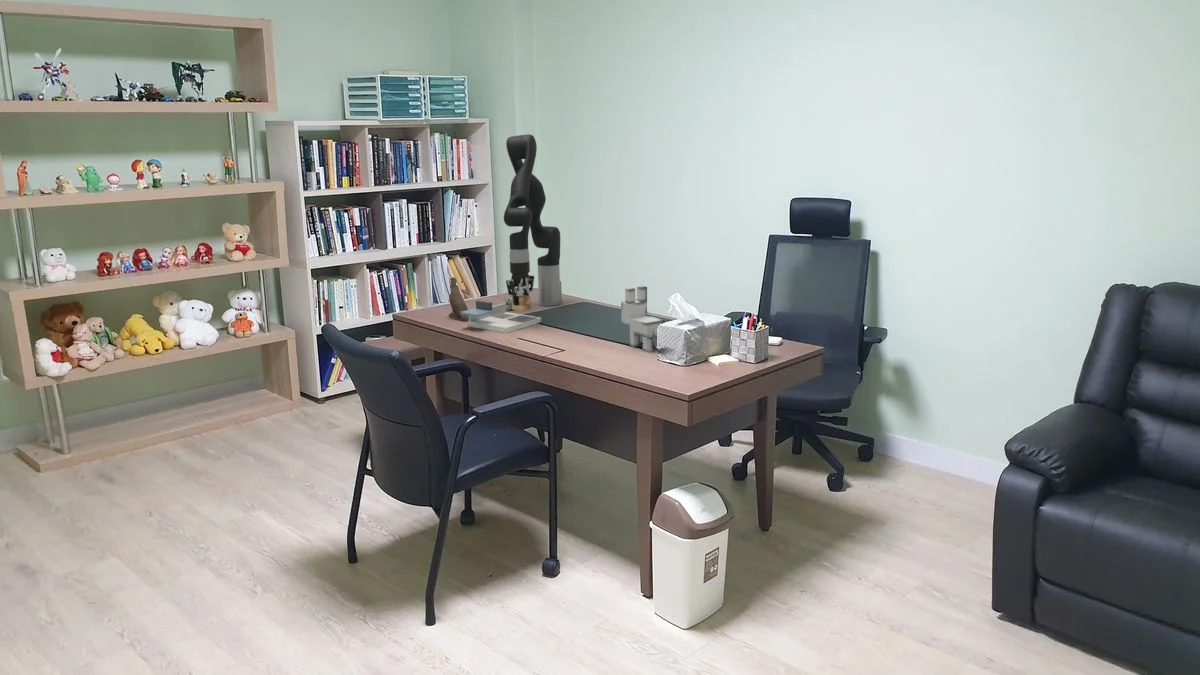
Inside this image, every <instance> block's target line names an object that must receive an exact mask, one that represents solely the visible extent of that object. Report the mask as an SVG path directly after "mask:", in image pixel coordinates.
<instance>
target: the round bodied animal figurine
mask: <svg viewBox="0 0 1200 675" xmlns="http://www.w3.org/2000/svg"><path fill="white" fill-rule="evenodd" d="M515 293H516V290H515ZM519 295H523V290H522V288H521V290H520V291H519ZM512 297H513V296H512V295H509V297H508V298H507V297H504V300H505V301H504V303H506V312H509V311H511V309H512ZM531 303H532V301H531V300H530V305H531Z"/></svg>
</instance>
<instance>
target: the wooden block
mask: <svg viewBox="0 0 1200 675" xmlns="http://www.w3.org/2000/svg"><path fill="white" fill-rule="evenodd" d="M518 296H519V305H518V306H515V305H514V304H513V297H512V308H511V309H512V310H513V311H518V312H525V311H527V310H531V304H530V301H531V295H529V296H526V295H518Z"/></svg>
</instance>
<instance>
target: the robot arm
mask: <svg viewBox="0 0 1200 675" xmlns="http://www.w3.org/2000/svg"><path fill="white" fill-rule="evenodd" d="M505 142H506V143H505V144H506V150H507V151H506V152H507V154H508V157H509V160H510V162H511V165H512V168H513V170H514V173H515V176H514V177H513V179H512V180H511V184H510V194H509V195H510V196H509V201H508V203H507V206H506V208H505V211H504V212H503V213H504V214H503V221H504V224H505V225H506V226H507V227H510V228H511V227H513V228H514V227H522V229H521V230H520V231H518V232H517V231H516V232H513V233H510V235H509V272H510V273H511V277H510V279H506V280H505V284H506V288H507V293H508V295H509V296H510V295H512V296H513V304H514V305H515V306H518V305H519V296H518V295H519V291H520V290H521V288H522V290H523V295H526V296H530V292H533V290H534V282H535V275H530V272H531V268H530V267H531V265H530V264H531V263H530V251H529V235H531V238H532V242H533V244H534V246H535V247H536V248H539V249H548V251H547V254H545V255H543V256H539V257H538V258H537V283H538V284H537V285H538V286H537V288H538V305H539V306H542V307H555V306H559V305H561V304H562V303H563V298H562V297H563V296H562V281H561V276H560V275H561V272H560V269H561V268H560V259H561V232H560V229H559V227H556V226H546V225H545V226H544V225H542V222H541V214H542V212H543V209H544V207H545V206H546V205H545V204H546V200H547V199H546V193H545V191H544V190H545V189H544V186H543V183H542V182H541V181H540V180H539V178H538V177H537V176H536V175H534V174H533V171H534V165H535V161H536V156H537V149H538V148H537V147H538V146H537V141H536V138H535V137H534V135H533V134H528V133H527V134H521V135H520V134H519V135H513V136H512V135H511V136H509V137H507V139H506V141H505ZM523 160H524V161H523ZM524 206H525V207H524ZM529 233H531V234H529ZM515 290H516V293H515Z"/></svg>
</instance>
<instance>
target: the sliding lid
mask: <svg viewBox="0 0 1200 675" xmlns="http://www.w3.org/2000/svg"><path fill="white" fill-rule="evenodd" d="M492 306H493V302H491V301H485V300H476V301H475V307H474V308H471V309H468V310H466V311H462V312H461V314H463V315H469V316H475V317H479V316H483V315H487V314H490V313H494V310H492Z"/></svg>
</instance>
